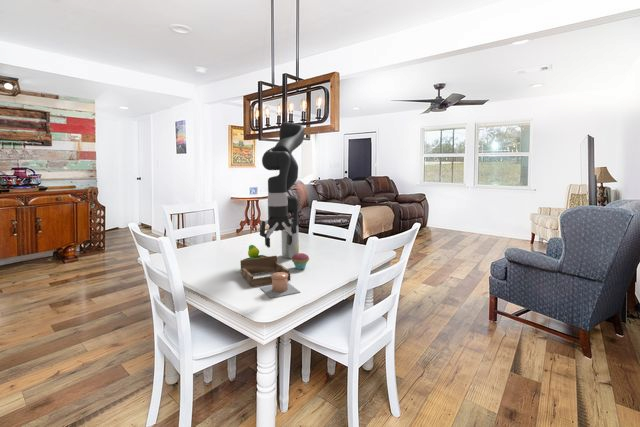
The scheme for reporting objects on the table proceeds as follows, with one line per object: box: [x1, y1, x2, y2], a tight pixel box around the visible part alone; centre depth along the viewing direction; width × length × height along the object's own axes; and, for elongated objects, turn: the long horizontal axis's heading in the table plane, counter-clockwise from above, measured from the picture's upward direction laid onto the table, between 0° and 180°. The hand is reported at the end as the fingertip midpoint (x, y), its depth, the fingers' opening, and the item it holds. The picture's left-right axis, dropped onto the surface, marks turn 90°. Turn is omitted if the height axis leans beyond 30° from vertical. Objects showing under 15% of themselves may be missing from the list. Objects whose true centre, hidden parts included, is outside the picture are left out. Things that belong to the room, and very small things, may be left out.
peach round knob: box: [270, 272, 288, 292], centre depth 132 cm, size 7×7×6 cm
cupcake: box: [290, 243, 310, 270], centre depth 162 cm, size 9×8×12 cm
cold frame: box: [240, 255, 291, 288], centre depth 148 cm, size 17×17×7 cm
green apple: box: [242, 244, 269, 260], centre depth 162 cm, size 11×9×11 cm
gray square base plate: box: [260, 282, 301, 299], centre depth 132 cm, size 12×12×1 cm
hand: (278, 245), depth 130 cm, fingers open, 8 cm apart
